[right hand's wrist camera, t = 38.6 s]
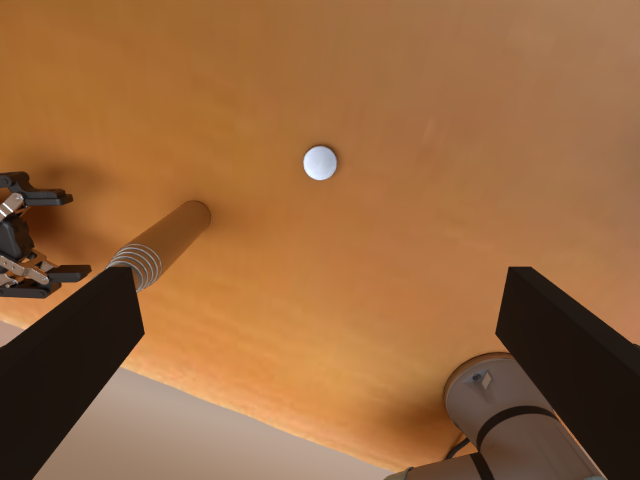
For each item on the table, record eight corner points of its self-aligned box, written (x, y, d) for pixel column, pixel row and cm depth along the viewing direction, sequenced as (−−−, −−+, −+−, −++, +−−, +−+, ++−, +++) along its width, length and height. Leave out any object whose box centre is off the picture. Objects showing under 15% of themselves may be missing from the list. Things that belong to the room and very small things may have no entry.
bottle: (198, 194, 46) (109, 259, 27) (217, 221, 48) (145, 301, 28) (172, 210, 47) (67, 283, 27) (191, 236, 48) (104, 324, 29)
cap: (296, 159, 45) (295, 161, 43) (322, 137, 44) (322, 138, 42) (318, 184, 46) (318, 187, 44) (343, 163, 45) (344, 165, 43)
